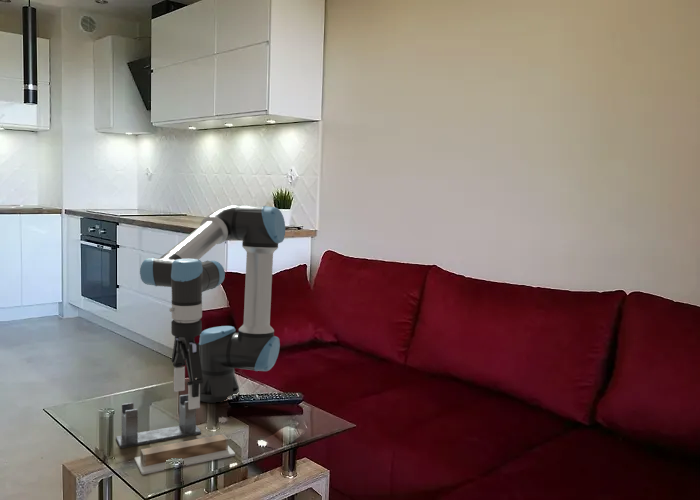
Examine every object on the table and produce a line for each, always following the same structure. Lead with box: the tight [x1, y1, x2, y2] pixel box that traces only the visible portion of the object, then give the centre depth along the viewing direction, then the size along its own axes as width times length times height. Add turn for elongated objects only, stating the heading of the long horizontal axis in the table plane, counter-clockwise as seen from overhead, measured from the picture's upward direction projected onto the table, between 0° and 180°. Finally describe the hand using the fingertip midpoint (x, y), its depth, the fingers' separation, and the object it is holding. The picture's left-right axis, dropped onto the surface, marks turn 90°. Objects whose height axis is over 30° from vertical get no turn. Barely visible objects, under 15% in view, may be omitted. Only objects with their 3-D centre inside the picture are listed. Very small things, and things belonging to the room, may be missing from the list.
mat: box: [134, 445, 236, 475], centre depth 160 cm, size 24×9×1 cm, turn 121°
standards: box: [115, 393, 202, 449], centre depth 171 cm, size 22×6×10 cm, turn 121°
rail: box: [139, 433, 229, 467], centre depth 159 cm, size 22×4×3 cm, turn 121°
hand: (186, 399), depth 158 cm, fingers open, 13 cm apart
